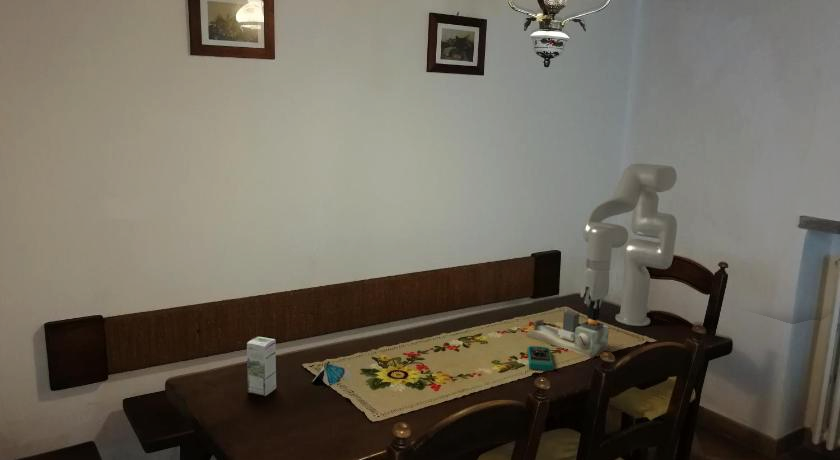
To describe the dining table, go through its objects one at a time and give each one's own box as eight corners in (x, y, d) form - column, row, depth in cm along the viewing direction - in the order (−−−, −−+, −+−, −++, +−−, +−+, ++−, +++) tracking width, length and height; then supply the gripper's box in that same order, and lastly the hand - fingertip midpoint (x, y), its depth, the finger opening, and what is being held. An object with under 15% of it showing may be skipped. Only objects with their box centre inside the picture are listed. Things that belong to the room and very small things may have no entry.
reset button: (591, 322, 218) (591, 316, 218) (599, 324, 216) (600, 319, 215) (585, 324, 216) (586, 318, 215) (594, 326, 214) (594, 321, 213)
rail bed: (546, 328, 237) (548, 304, 235) (608, 348, 219) (611, 322, 218) (526, 336, 229) (528, 310, 227) (589, 357, 211) (591, 330, 209)
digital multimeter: (549, 354, 213) (550, 346, 213) (553, 372, 199) (553, 363, 198) (526, 353, 214) (527, 344, 214) (528, 370, 200) (529, 361, 199)
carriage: (569, 333, 227) (571, 309, 225) (581, 337, 224) (583, 313, 222) (557, 337, 222) (559, 313, 221) (570, 341, 219) (572, 317, 217)
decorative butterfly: (302, 371, 183) (319, 351, 192) (305, 389, 186) (321, 369, 195) (334, 377, 180) (350, 356, 188) (336, 396, 183) (352, 375, 191)
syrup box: (276, 388, 180) (276, 338, 177) (265, 397, 175) (264, 345, 172) (259, 384, 182) (258, 335, 179) (246, 393, 176) (246, 342, 174)
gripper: (599, 259, 220) (595, 311, 223) (575, 265, 209) (570, 320, 213) (620, 263, 214) (614, 317, 218) (595, 270, 204) (590, 326, 208)
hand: (592, 318), depth 215 cm, fingers closed
